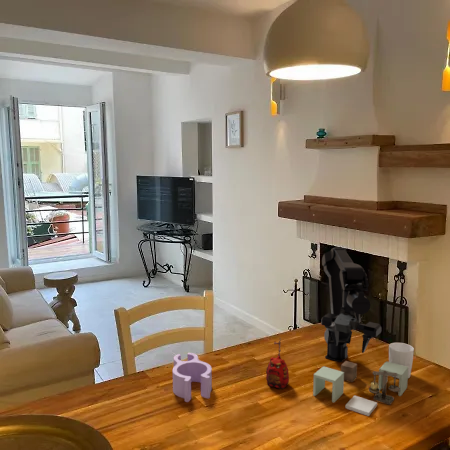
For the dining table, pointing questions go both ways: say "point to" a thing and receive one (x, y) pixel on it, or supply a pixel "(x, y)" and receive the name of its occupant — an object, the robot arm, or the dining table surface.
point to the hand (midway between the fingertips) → (349, 349)
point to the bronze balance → (383, 388)
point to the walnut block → (349, 371)
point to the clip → (191, 376)
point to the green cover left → (330, 376)
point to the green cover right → (401, 373)
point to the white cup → (401, 355)
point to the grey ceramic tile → (361, 405)
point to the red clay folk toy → (277, 371)
